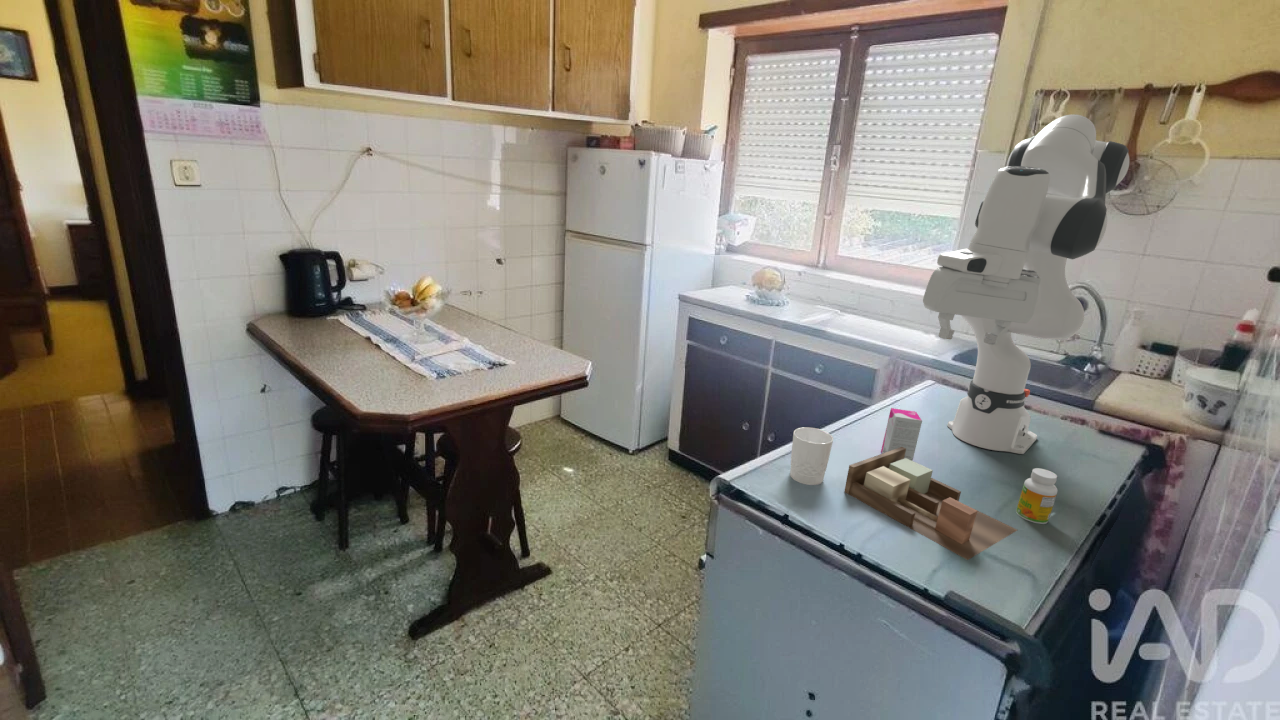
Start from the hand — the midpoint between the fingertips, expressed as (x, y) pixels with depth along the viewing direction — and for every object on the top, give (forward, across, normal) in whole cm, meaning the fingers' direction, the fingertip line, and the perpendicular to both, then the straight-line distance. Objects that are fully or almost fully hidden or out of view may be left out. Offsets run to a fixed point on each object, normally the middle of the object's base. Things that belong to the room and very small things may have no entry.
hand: (967, 341), depth 106 cm
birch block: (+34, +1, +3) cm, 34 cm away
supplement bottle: (+32, -22, +5) cm, 40 cm away
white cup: (+36, +16, -13) cm, 41 cm away
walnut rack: (+34, -2, +2) cm, 34 cm away
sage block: (+34, -3, -6) cm, 34 cm away
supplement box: (+34, -9, -20) cm, 40 cm away
